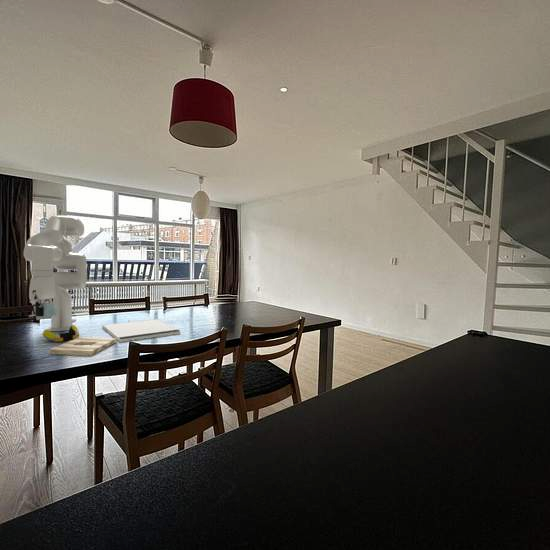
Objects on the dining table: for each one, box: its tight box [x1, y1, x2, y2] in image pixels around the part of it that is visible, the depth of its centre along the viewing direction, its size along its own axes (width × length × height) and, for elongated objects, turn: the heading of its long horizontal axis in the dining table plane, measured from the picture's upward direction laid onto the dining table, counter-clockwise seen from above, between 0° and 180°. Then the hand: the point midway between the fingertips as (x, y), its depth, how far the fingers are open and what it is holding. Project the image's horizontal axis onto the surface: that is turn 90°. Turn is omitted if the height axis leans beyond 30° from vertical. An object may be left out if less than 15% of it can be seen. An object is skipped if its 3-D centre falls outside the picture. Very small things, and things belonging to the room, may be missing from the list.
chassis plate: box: [49, 336, 118, 357], centre depth 145 cm, size 20×18×2 cm
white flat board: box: [101, 318, 181, 343], centre depth 178 cm, size 35×2×31 cm
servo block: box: [28, 300, 61, 321], centre depth 141 cm, size 4×12×7 cm, turn 88°
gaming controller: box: [42, 324, 80, 343], centre depth 157 cm, size 15×6×10 cm
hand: (43, 314), depth 141 cm, fingers closed on servo block, 3 cm apart
